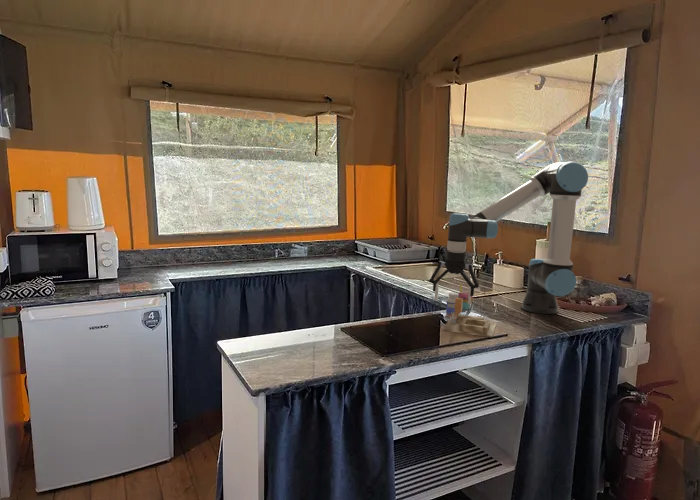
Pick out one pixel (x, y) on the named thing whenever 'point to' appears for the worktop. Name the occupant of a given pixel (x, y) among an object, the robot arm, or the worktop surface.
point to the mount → (471, 326)
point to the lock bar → (457, 310)
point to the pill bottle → (451, 304)
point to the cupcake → (464, 298)
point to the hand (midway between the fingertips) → (452, 301)
